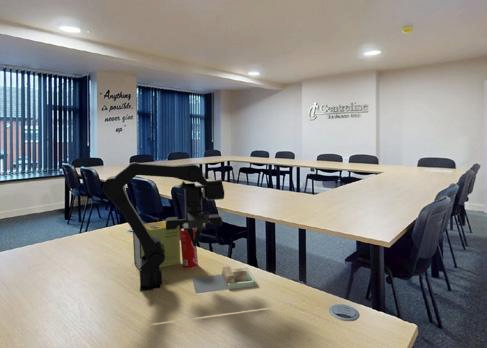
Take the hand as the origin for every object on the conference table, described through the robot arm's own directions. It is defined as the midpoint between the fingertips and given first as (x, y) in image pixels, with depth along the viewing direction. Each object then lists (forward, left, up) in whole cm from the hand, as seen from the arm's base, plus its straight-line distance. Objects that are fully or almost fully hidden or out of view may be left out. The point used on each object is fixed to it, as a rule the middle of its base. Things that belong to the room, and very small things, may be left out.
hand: (194, 246), depth 114 cm
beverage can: (-1, +12, -12) cm, 17 cm away
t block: (+13, -5, -12) cm, 18 cm away
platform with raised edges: (+9, -5, -12) cm, 16 cm away
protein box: (-13, +18, -12) cm, 26 cm away
